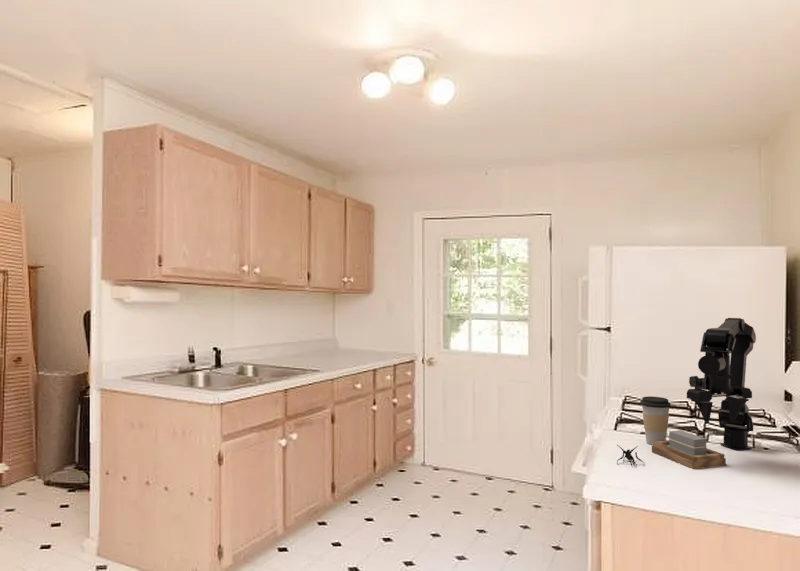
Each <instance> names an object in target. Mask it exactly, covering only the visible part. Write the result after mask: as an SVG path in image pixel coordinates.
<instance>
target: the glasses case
mask: <svg viewBox="0 0 800 571" xmlns="http://www.w3.org/2000/svg"><path fill="white" fill-rule="evenodd" d="M668 434H669V436H668V437H669V438H668V440H669V446H670V447H672V448H675V449H678V450H680V451H683V452H686V453H688V454H691V455H693V456H695V455H705V454H706V448H708V446H707V438H705V437H702V436H699V435H696V434H693V433H691V432H688V431H684V430H681V429H680V430H670V431H669V433H668Z"/></svg>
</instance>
